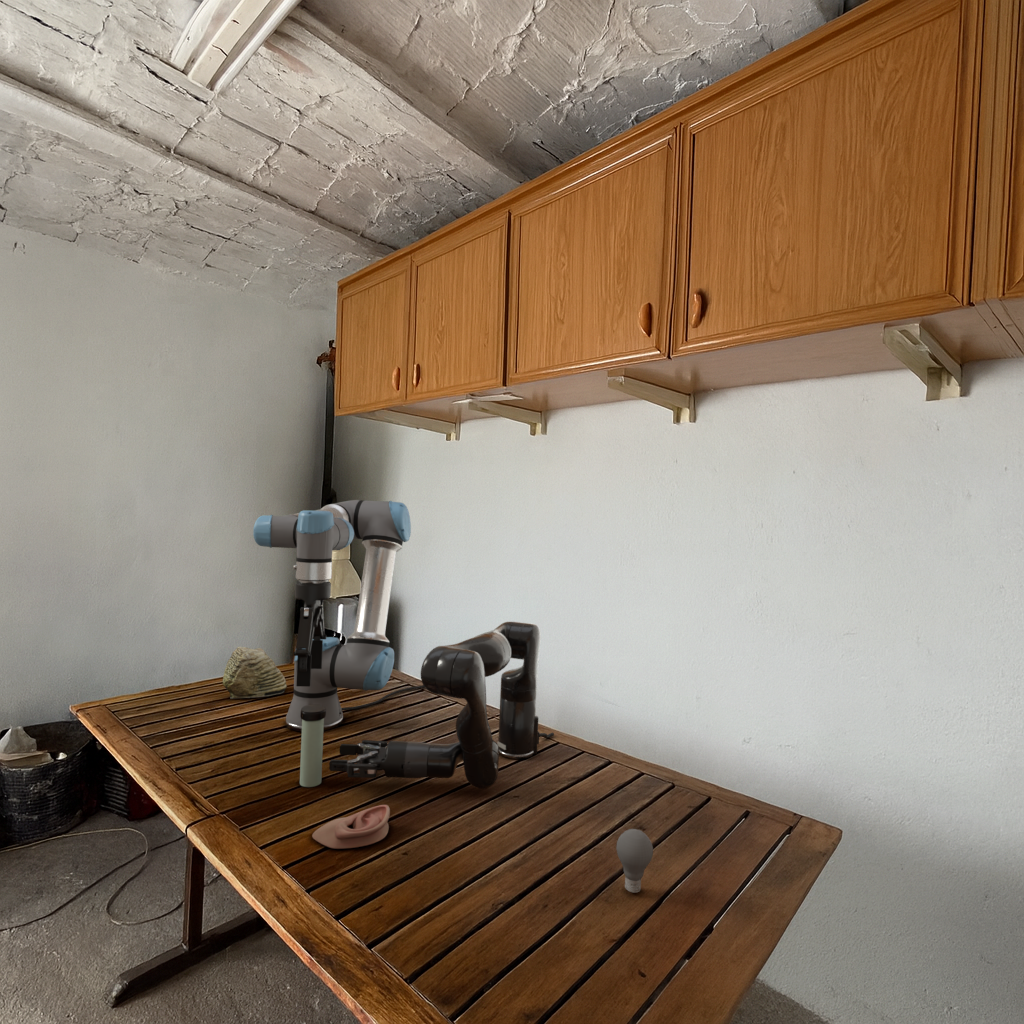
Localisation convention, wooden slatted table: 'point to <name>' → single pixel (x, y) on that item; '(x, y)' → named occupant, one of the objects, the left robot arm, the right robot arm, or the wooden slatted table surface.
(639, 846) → the light bulb
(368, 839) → the anatomical model
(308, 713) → the lid
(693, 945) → the wooden slatted table surface
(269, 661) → the fossil
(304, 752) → the pale green cylinder
